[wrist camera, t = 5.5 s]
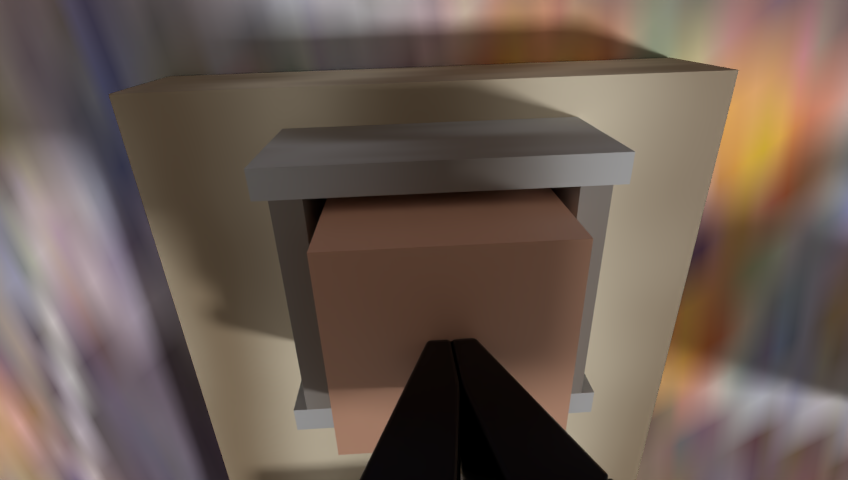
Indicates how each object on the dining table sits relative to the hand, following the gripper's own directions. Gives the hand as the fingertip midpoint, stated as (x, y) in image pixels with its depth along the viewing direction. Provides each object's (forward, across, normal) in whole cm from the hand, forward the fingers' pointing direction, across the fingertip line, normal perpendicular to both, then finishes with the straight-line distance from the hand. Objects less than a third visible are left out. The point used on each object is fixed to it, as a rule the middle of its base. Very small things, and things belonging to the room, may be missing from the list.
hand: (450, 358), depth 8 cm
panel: (+8, 0, +6) cm, 10 cm away
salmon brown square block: (+3, 0, 0) cm, 3 cm away
